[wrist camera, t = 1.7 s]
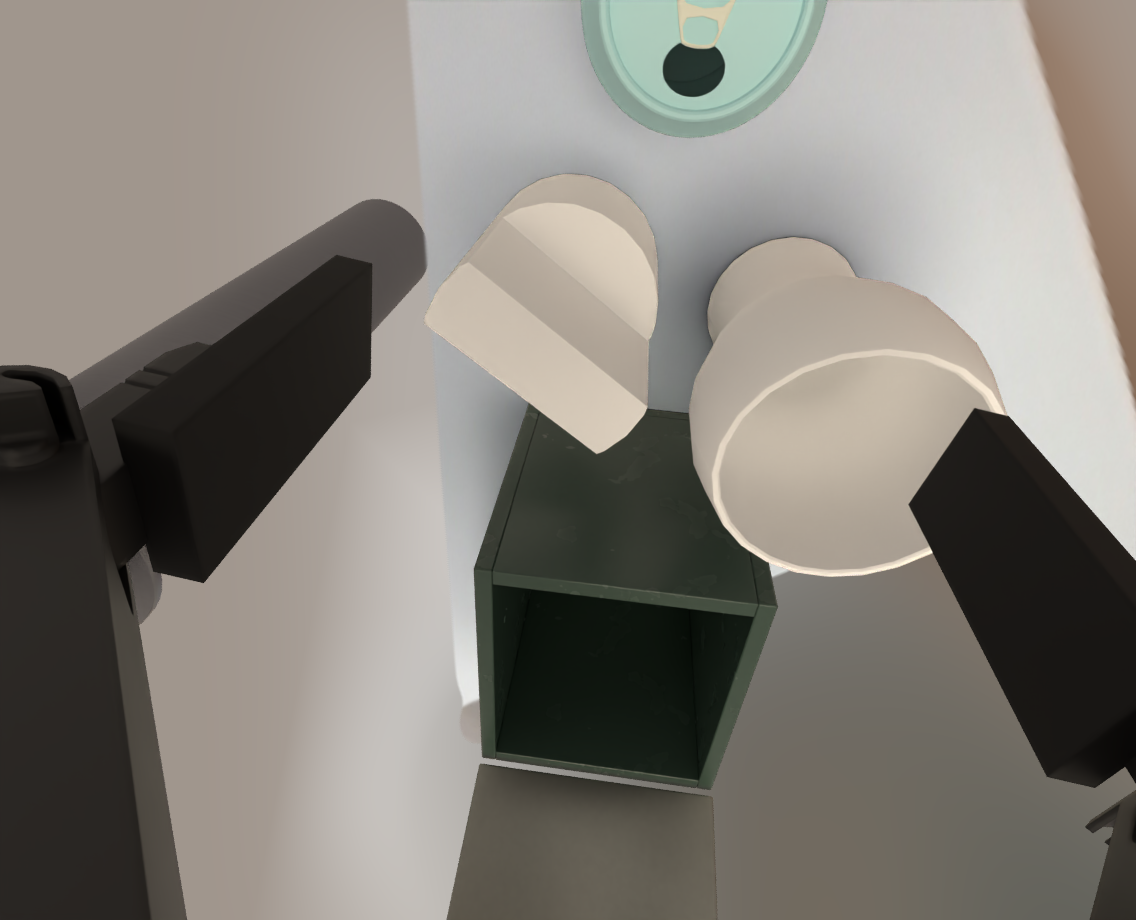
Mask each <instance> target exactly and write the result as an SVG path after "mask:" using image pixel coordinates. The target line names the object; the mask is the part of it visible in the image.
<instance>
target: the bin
mask: <svg viewBox="0 0 1136 920" xmlns="http://www.w3.org/2000/svg"><path fill="white" fill-rule="evenodd" d="M474 586H475V609H476V632H477V654H478V677H479V700H480V722H481V745H482V757H483V758H489V759H496V760H502V761H509V762H516V763H523V764H530V765H537V766H544V767H551V768H558V769H565V770H573V771H579V772H586V773H593V774H601V775H607V776H615V777H621V778H628V779H635V780H642V781H649V782H656V783H663V784H670V785H677V786H684V787H691V788H696V787H697V788H701V789H707V790H711V788H712V786H713V782H714V780H715V778H716V775H717V772H718V769H719V766H720V763H721V761H722V758H723V755H724V753H725V750H726V747H727V745H728V742H729V739H730V736H731V733H732V730H733V728H734V725H735V723H736V720H737V717H738V715H739V712H740V709H741V706H742V703H743V701H744V698H745V695H746V693H747V690H748V687H749V684H750V681H751V679H752V676H753V673H754V670H755V668H756V665H757V662H758V660H759V657H760V654H761V652H762V649H763V646H764V643H765V641H766V638H767V635H768V632H769V629H770V627H771V624H772V621H773V619H774V616H775V613H776V610H777V608H778V605H777V600H776V595H775V591H774V586H773V581H772V576H771V571H770V567H769V563H768V562H766V561H764V560H763V559H761V558H760V557H758V556H757V555H755V554H754V553H752V552H750V551H749V550H747V549H746V548H744V547H743V546H741V545H740V544H739V543H738V541H737V540H736V539H735V538H734V537H733V536H732V535H731V533H730V532H729V531H728V530H727V529H726V528H725V527H724V526H723V524H722V522H721V520H720V519H719V517H718V515H717V513H716V511H715V509H714V507H713V505H712V503H711V501H710V499H709V497H708V496H707V494H706V492H705V490H704V487H703V485H702V483H701V480H700V478H699V476H698V474H697V471H696V469H695V467H694V464H693V454H692V443H691V431H690V418H689V414H687V413H678V412H668V411H659V410H649V409H647V410H646V412H645V414H644V416H643V417H642V418H641V419H640V420H639V422H638V423H637V424H636V425H635V426H634V428H633V429H632V430H631V431H630V432H629V434H628V435H627V436H625V437H624V438H623V439H621V440H620V441H618V442H617V443H615V444H614V445H612V446H611V447H610V448H608V449H607V450H605V451H603V452H601V453H598V454H596V453H595V452H593V451H592V450H591V449H589V448H588V447H587V446H585V445H584V444H583V443H581V442H580V441H579V440H577V439H576V438H575V437H573V436H572V435H571V434H569V433H568V432H567V431H566V430H564V429H563V428H562V427H560V426H559V425H558V424H556V423H555V422H554V421H552V420H551V419H550V418H548V417H547V416H546V415H544V414H543V413H542V412H540V411H539V410H538V409H536V408H535V407H534V406H532V405H531V404H530V403H529V405H528V407H527V410H526V413H525V416H524V419H523V422H522V425H521V428H520V431H519V434H518V437H517V440H516V444H515V447H514V450H513V453H512V456H511V459H510V462H509V465H508V468H507V471H506V474H505V477H504V480H503V483H502V486H501V489H500V492H499V495H498V498H497V501H496V504H495V507H494V510H493V513H492V516H491V519H490V522H489V525H488V528H487V531H486V534H485V537H484V540H483V543H482V546H481V549H480V552H479V555H478V558H477V561H476V564H475V567H474Z"/></svg>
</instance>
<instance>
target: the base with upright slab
mask: <svg viewBox="0 0 1136 920" xmlns="http://www.w3.org/2000/svg"><path fill="white" fill-rule="evenodd" d="M657 307H658V258H657V252H656V245H655V239H654V235H653V233H652V231H651V228H650V226H649V224H648V222H647V219H646V217H645V215H644V214H643V213H642V211H641V210H640V209H639V208H638V207H637V205H636V204H635V203H634V202H633V201H632V199H631V198H630V197H629V196H628V195H626V194H625V193H623V192H622V191H620V190H619V189H618V188H616V187H615V186H613V185H612V184H610V183H608V182H605V181H603V180H600V179H597V178H594V177H591V176H588V175H576V174H560V175H556V176H552V177H547V178H543V179H540V180H538V181H536V182H535V183H533V184H531V185H529V186H528V187H526V188H524V189H522V190H520V191H519V192H518V194H517V195H516V196H515V197H514V198H513V199H512V200H511V201H510V202H509V203H508V204H507V205H506V206H505V207H504V208H503V209H502V211H501V212H500V213H499V214H498V216H497V217H496V218H495V219H494V221H493V222H492V223H491V224H490V225H489V227H488V228H487V229H486V230H485V232H484V233H483V234H482V235H481V237H480V238H479V239H478V240H477V242H476V243H475V244H474V245H473V246H472V248H471V249H470V250H469V251H468V253H467V254H466V255H465V256H464V258H463V259H462V260H461V261H460V263H459V264H458V265H457V266H456V267H455V269H454V270H453V271H452V272H451V274H450V275H449V276H448V277H447V279H446V280H445V281H444V282H443V284H442V285H441V286H440V287H439V288H438V290H437V292H436V294H435V296H434V298H433V300H432V302H431V304H430V306H429V308H428V310H427V312H426V314H425V319H424V324H425V325H427V326H428V327H429V328H430V329H432V330H433V331H434V332H436V333H437V334H438V335H440V336H441V337H442V338H444V339H445V340H446V341H448V342H449V343H450V344H452V345H453V346H454V347H456V348H457V349H458V350H460V351H461V352H462V353H464V354H465V355H466V356H468V357H469V358H470V359H471V360H473V361H474V362H475V363H477V364H478V365H479V366H481V367H482V368H483V369H485V370H486V371H487V372H489V373H490V374H491V375H493V376H494V377H495V378H497V379H498V380H499V381H501V382H502V383H503V384H505V385H506V386H507V387H509V388H510V389H511V390H513V391H514V392H515V393H517V394H518V395H519V396H520V397H522V398H523V399H524V400H526V401H527V402H528V403H530V404H531V405H532V406H534V407H535V408H536V409H538V410H539V411H540V412H542V413H543V414H544V415H546V416H547V417H548V418H550V419H551V420H552V421H554V422H555V423H556V424H558V425H559V426H560V427H562V428H563V429H564V430H566V431H567V432H568V433H569V434H571V435H572V436H573V437H575V438H576V439H577V440H579V441H580V442H581V443H583V444H584V445H585V446H587V447H588V448H589V449H591V450H592V451H593V452H595V453H596V454H598V453H601V452H603V451H605V450H607V449H608V448H610V447H611V446H612V445H614V444H615V443H617V442H618V441H620V440H621V439H623V438H624V437H625V436H627V435H628V434H629V432H630V431H631V430H632V429H633V428H634V426H635V425H636V424H637V423H638V422H639V420H640V419H641V418H642V417H643V416H644V414H645V412H646V410H647V407H648V359H649V340H650V338H651V335H652V333H653V331H654V328H655V324H656V316H657Z"/></svg>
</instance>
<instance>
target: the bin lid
mask: <svg viewBox="0 0 1136 920" xmlns="http://www.w3.org/2000/svg"><path fill="white" fill-rule="evenodd" d="M716 895H717V894H716V868H715V843H714V814H713V798H712V797H711V796H704V795H697V794H690V793H683V792H676V791H669V790H661V789H655V788H648V787H641V786H634V785H627V784H620V783H613V782H605V781H599V780H591V779H585V778H578V777H571V776H564V775H557V774H550V773H543V772H536V771H528V770H522V769H515V768H508V767H501V766H494V765H487V764H480V765H479V769H478V774H477V779H476V783H475V788H474V793H473V797H472V802H471V807H470V811H469V816H468V822H467V826H466V831H465V835H464V840H463V845H462V849H461V854H460V859H459V863H458V868H457V873H456V878H455V883H454V887H453V892H452V897H451V901H450V906H449V911H448V915H447V920H717V896H716Z"/></svg>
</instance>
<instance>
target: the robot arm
mask: <svg viewBox="0 0 1136 920" xmlns="http://www.w3.org/2000/svg"><path fill="white" fill-rule="evenodd" d="M371 319H372V263H368V262H364V261H360V260H356V259H351V258H347V257H343V256H339V255H336V256H334V257H333V258H332V259H330V260H329V261H328V262H326V263H325V264H323V265H322V266H321V267H319V268H318V269H317V270H315V271H314V272H312V273H311V274H310V275H308V276H307V277H306V278H304V279H303V280H301V281H300V282H299V283H297V284H296V285H295V286H293V287H292V288H290V289H289V290H288V291H286V292H285V293H284V294H282V295H281V296H279V297H278V298H277V299H275V300H274V301H273V302H271V303H270V304H268V305H267V306H266V307H264V308H263V309H262V310H260V311H259V312H257V313H256V314H255V315H253V316H252V317H251V318H249V319H248V320H246V321H245V322H244V323H242V324H241V325H240V326H238V327H237V328H235V329H234V330H233V331H231V332H230V333H229V334H227V335H226V336H224V337H223V338H222V339H220V340H219V341H218V342H216V343H215V344H213V345H212V346H211V345H207V344H203V343H198V342H196V343H193V344H190V345H187V346H184V347H180V348H177V349H174V350H171V351H168V352H166V353H164V354H163V355H161V356H160V357H158V358H157V359H155V360H154V361H152V362H151V363H149V364H148V365H146V366H145V367H144V370H143V371H141V370H139V371H137V372H136V373H134V374H133V375H131V376H130V377H128V378H127V379H126V381H125V383H120V384H118V385H117V386H115V387H114V388H112V389H111V390H109V391H108V392H106V393H105V394H103V395H102V396H100V397H99V398H97V399H96V400H94V401H93V402H91V403H90V404H88V405H87V406H85V407H84V408H82V409H81V410H79V406H78V403H77V400H76V397H75V393H74V390H73V387H72V385H71V383H70V382H69V380H68V379H67V377H66V376H64V375H63V374H60V373H58V372H56V371H54V370H52V369H48V368H42V367H36V366H30V365H19V366H17V365H16V366H15V365H14V366H13V365H12V366H0V920H187V917H186V910H185V904H184V898H183V892H182V886H181V880H180V874H179V867H178V861H177V855H176V849H175V843H174V837H173V831H172V824H171V818H170V813H169V806H168V800H167V794H166V788H165V782H164V776H163V770H162V763H161V757H160V751H159V746H158V739H157V732H156V726H155V720H154V714H153V708H152V702H151V696H150V690H149V683H148V677H147V671H146V666H145V659H144V653H143V647H142V641H141V635H140V628H139V622H138V616H137V610H136V604H135V598H134V591H133V585H132V579H131V575H130V572H129V569H128V565H127V562H128V561H129V560H130V559H131V558H132V557H133V556H134V555H135V554H136V553H137V552H138V551H139V550H140V549H141V548H142V547H143V546H144V545H145V544H146V547H147V550H148V554H149V557H150V561H151V565H152V568H153V572H158V573H162V574H167V575H171V576H175V577H180V578H184V579H188V580H193V581H197V582H201V583H204V582H205V581H206V580H207V579H208V577H209V576H210V575H211V574H212V572H213V571H214V570H215V569H216V567H217V566H218V565H219V564H220V563H221V561H222V560H223V559H224V558H225V556H226V555H227V554H228V553H229V551H230V550H231V549H232V548H233V546H234V545H235V544H236V543H237V542H238V540H239V539H240V538H241V537H242V535H243V534H244V533H245V532H246V530H247V529H248V528H249V527H250V526H251V524H252V523H253V522H254V521H255V519H256V518H257V517H258V516H259V514H260V513H261V512H262V511H263V509H264V508H265V507H266V506H267V505H268V503H269V502H270V501H271V500H272V498H273V497H274V496H275V495H276V493H277V492H278V491H279V490H280V489H281V487H282V486H283V485H284V483H285V482H286V481H287V480H288V479H289V477H290V476H291V475H292V474H293V472H294V471H295V470H296V468H297V467H298V466H299V465H300V464H301V463H302V461H303V460H304V459H305V457H306V456H307V455H308V454H309V453H310V451H311V450H312V449H313V448H314V447H315V445H316V444H317V442H318V441H319V440H320V439H321V438H322V437H323V435H324V434H325V433H326V432H327V431H328V429H329V428H330V427H331V426H332V424H333V423H334V422H335V421H336V419H337V418H338V417H339V416H340V414H341V413H342V412H343V411H344V410H345V408H346V407H347V406H348V404H349V403H350V402H351V401H352V400H353V398H354V397H355V396H356V395H357V393H358V392H359V391H360V390H361V388H362V387H363V386H364V385H365V384H366V382H367V381H368V380H369V379H370V377H371ZM908 505H909V507H910V509H911V511H912V513H913V515H914V517H915V519H916V521H917V523H918V525H919V527H920V529H921V531H922V533H923V535H924V536H925V538H926V540H927V542H928V544H929V546H930V548H931V550H932V552H933V554H934V556H935V558H936V560H937V562H938V564H939V566H940V568H941V570H942V572H943V573H944V576H945V578H946V580H947V581H948V583H949V586H950V587H951V589H952V591H953V593H954V595H955V597H956V599H957V601H958V603H959V605H960V607H961V609H962V611H963V613H964V615H965V617H966V619H967V621H968V623H969V625H970V627H971V629H972V630H973V632H974V635H975V637H976V638H977V640H978V642H979V644H980V646H981V648H982V650H983V652H984V654H985V656H986V658H987V660H988V662H989V664H990V666H991V668H992V670H993V672H994V674H995V676H996V678H997V679H998V682H999V684H1000V685H1001V688H1002V689H1003V691H1004V693H1005V695H1006V697H1007V699H1008V701H1009V703H1010V705H1011V707H1012V709H1013V711H1014V713H1015V715H1016V717H1017V719H1018V721H1019V722H1020V725H1021V727H1022V729H1023V731H1024V733H1025V735H1026V736H1027V738H1028V740H1029V742H1030V744H1031V746H1032V748H1033V750H1034V752H1035V754H1036V756H1037V758H1038V760H1039V762H1040V764H1041V766H1042V768H1043V770H1044V772H1045V774H1046V775H1047V777H1050V778H1054V779H1059V780H1063V781H1067V782H1072V783H1076V784H1080V785H1085V786H1089V787H1093V788H1095V787H1097V786H1098V785H1100V784H1101V783H1103V782H1104V781H1106V780H1107V779H1108V778H1110V777H1111V776H1113V775H1114V774H1115V773H1117V772H1118V771H1120V770H1121V769H1123V768H1124V767H1126V769H1127V770H1128V772H1129V773H1130V775H1131V776H1132V778H1133V780H1134V781H1135V783H1136V561H1135V559H1134V558H1133V557H1132V556H1131V555H1130V554H1129V553H1128V551H1127V550H1126V549H1125V548H1124V547H1123V546H1122V545H1121V544H1120V542H1119V541H1118V540H1117V539H1116V538H1115V537H1114V536H1113V534H1112V533H1111V532H1110V531H1109V530H1108V529H1107V528H1106V526H1105V525H1104V524H1103V523H1102V522H1101V521H1100V520H1099V518H1098V517H1097V516H1096V515H1095V514H1094V513H1093V512H1092V510H1091V509H1090V508H1089V507H1088V506H1087V505H1086V504H1085V502H1084V501H1083V500H1082V499H1081V498H1080V497H1079V496H1078V494H1077V493H1076V492H1075V491H1074V490H1073V489H1072V488H1071V486H1070V485H1069V484H1068V483H1067V482H1066V481H1065V480H1064V478H1063V477H1062V476H1061V475H1060V474H1059V473H1058V472H1057V471H1056V469H1055V468H1054V467H1053V466H1052V465H1051V464H1050V463H1049V461H1048V460H1047V459H1046V458H1045V457H1044V456H1043V455H1042V453H1041V452H1040V451H1039V450H1038V449H1037V448H1036V447H1035V445H1034V444H1033V443H1032V442H1031V441H1030V440H1029V439H1028V437H1027V436H1026V435H1025V434H1024V433H1023V432H1022V431H1021V429H1020V428H1019V427H1018V426H1017V425H1016V424H1015V423H1014V421H1013V420H1012V419H1011V418H1010V417H1009V416H1006V415H1002V414H998V413H994V412H989V411H985V410H981V409H977V408H974V409H973V411H972V412H971V413H970V415H969V416H968V418H967V419H966V421H965V422H964V424H963V425H962V427H961V428H960V430H959V431H958V432H957V434H956V435H955V437H954V438H953V440H952V441H951V443H950V444H949V446H948V447H947V449H946V450H945V451H944V453H943V454H942V456H941V457H940V459H939V460H938V462H937V463H936V465H935V466H934V468H933V469H932V470H931V472H930V473H929V475H928V476H927V478H926V479H925V481H924V482H923V484H922V485H921V486H920V488H919V489H918V491H917V492H916V494H915V495H914V497H913V498H912V500H911V501H910V503H909V504H908ZM1102 827H1113V828H1114V829H1113V833H1112V836H1111V837H1110V838H1109V839H1107V840H1106V841H1105V843H1106V844H1108V845H1109V848H1108V852H1107V855H1106V859H1105V863H1104V867H1103V871H1102V875H1101V879H1100V882H1099V886H1098V891H1097V894H1096V898H1095V901H1094V905H1093V909H1092V913H1091V917H1090V920H1136V790H1135V791H1134V792H1132V793H1131V794H1129V795H1128V796H1126V797H1125V798H1123V799H1122V800H1120V801H1119V802H1117V803H1116V804H1114V805H1113V806H1111V807H1110V808H1108V809H1107V810H1105V811H1104V812H1102V813H1101V814H1099V815H1098V816H1096V817H1095V818H1093V819H1092V820H1091V821H1090V822H1089V823H1088V824H1087V825H1086V828H1087V829H1088V830H1090V831H1091V832H1092V833H1094V832H1096V831H1097V830H1099V829H1100V828H1102Z"/></svg>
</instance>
